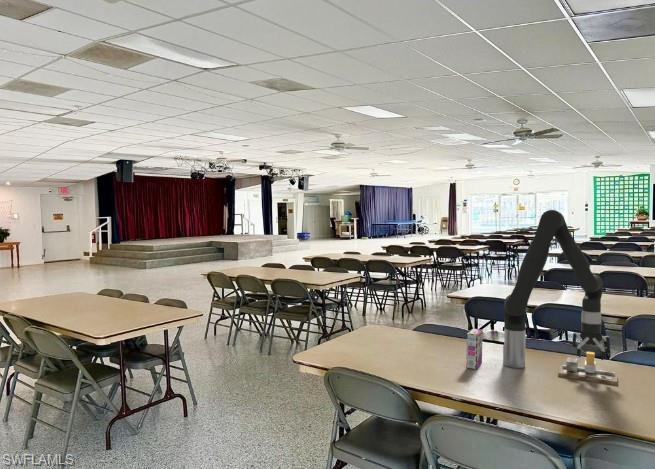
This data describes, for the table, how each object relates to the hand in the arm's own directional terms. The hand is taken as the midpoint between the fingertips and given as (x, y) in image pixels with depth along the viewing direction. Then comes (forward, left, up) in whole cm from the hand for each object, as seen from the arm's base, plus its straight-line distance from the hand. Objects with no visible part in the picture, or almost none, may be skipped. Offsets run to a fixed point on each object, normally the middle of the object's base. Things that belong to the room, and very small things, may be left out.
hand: (590, 358), depth 204 cm
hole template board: (-1, 0, -8) cm, 9 cm away
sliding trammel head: (0, 0, -6) cm, 6 cm away
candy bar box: (-47, -9, -9) cm, 49 cm away
